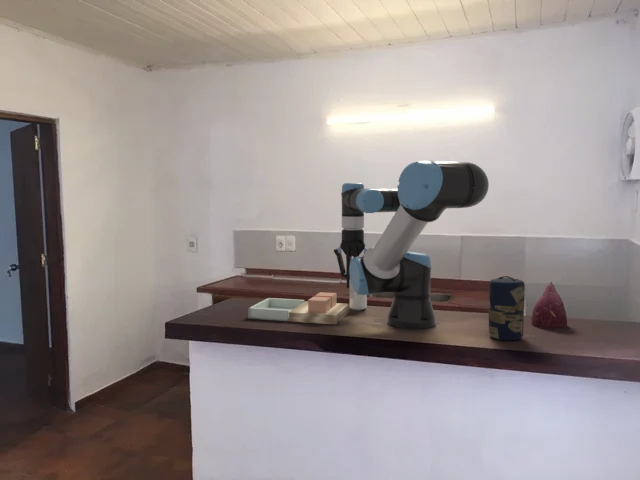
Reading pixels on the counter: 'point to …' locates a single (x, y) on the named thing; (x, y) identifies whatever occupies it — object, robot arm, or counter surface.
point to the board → (319, 314)
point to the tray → (273, 309)
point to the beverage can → (358, 302)
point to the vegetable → (549, 310)
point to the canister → (506, 308)
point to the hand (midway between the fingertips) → (352, 297)
